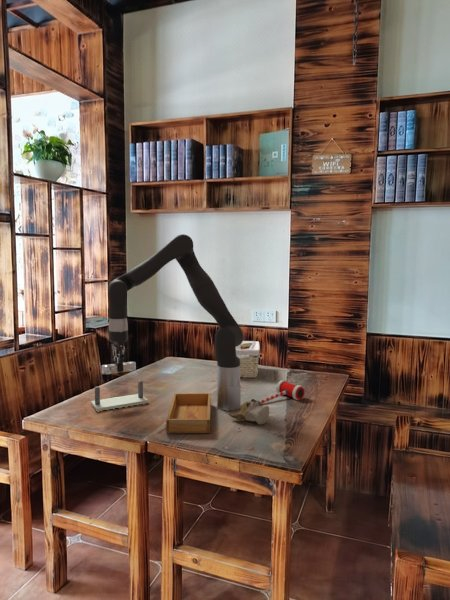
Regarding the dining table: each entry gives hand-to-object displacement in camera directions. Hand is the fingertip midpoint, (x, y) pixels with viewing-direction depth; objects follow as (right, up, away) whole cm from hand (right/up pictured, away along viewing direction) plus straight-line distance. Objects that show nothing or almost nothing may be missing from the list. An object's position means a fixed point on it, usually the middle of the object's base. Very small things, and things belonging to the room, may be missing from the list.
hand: (119, 370), depth 187 cm
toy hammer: (+68, -14, +9) cm, 70 cm away
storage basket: (+53, -9, +51) cm, 75 cm away
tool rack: (0, -14, +1) cm, 14 cm away
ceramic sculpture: (+53, -17, -16) cm, 58 cm away
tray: (+30, -17, -14) cm, 37 cm away
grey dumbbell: (0, 0, 0) cm, 0 cm away
